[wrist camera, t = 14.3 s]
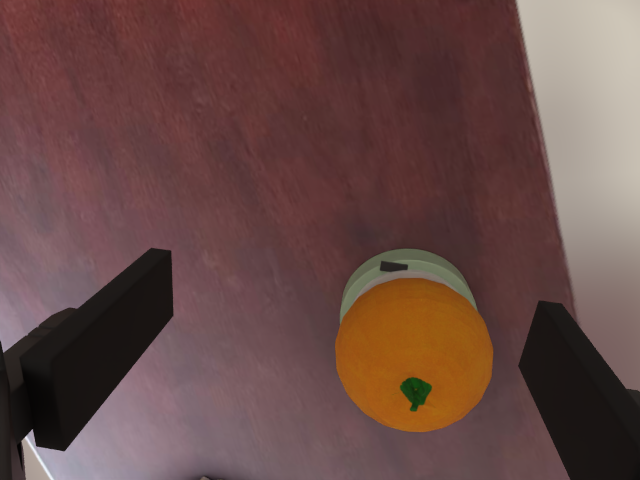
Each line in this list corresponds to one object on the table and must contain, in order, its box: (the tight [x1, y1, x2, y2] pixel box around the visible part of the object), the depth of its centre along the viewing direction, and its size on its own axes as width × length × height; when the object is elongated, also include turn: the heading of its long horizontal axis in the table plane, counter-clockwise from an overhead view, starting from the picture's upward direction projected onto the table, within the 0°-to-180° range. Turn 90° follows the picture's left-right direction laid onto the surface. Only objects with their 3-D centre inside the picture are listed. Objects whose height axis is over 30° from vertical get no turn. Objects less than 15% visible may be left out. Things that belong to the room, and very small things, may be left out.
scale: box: [340, 249, 477, 325], centre depth 40 cm, size 12×12×3 cm
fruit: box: [335, 278, 493, 432], centre depth 33 cm, size 12×12×10 cm
